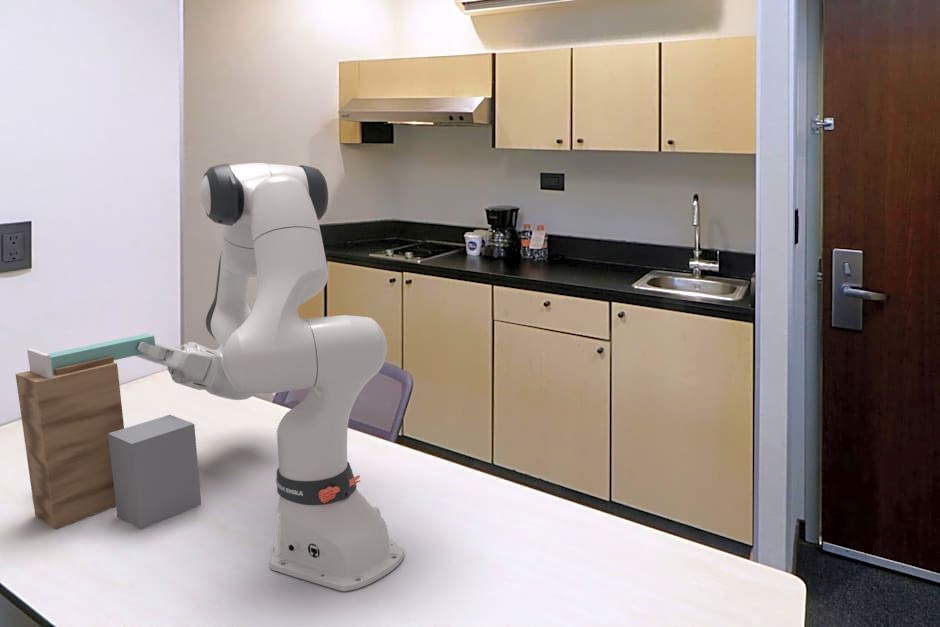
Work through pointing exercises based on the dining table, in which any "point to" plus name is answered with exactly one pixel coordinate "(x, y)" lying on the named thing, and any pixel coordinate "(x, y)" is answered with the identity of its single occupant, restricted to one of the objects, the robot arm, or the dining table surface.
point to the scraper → (85, 354)
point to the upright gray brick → (154, 470)
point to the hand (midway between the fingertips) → (132, 343)
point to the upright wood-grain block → (71, 439)
